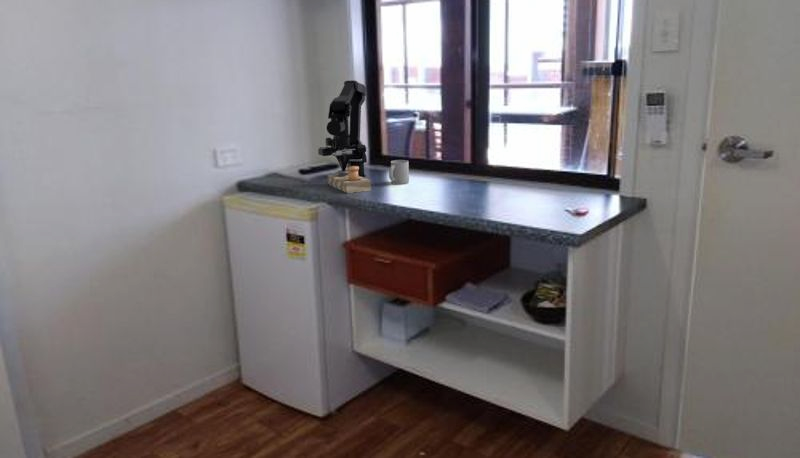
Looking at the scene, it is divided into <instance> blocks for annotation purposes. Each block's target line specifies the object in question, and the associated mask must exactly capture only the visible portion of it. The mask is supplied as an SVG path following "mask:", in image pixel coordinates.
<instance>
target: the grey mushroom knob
mask: <svg viewBox="0 0 800 458" xmlns="http://www.w3.org/2000/svg"><path fill="white" fill-rule="evenodd" d="M337 174H339V177H348V170H347V169H345V171H342V169H341V170H338V171H337Z"/></svg>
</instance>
